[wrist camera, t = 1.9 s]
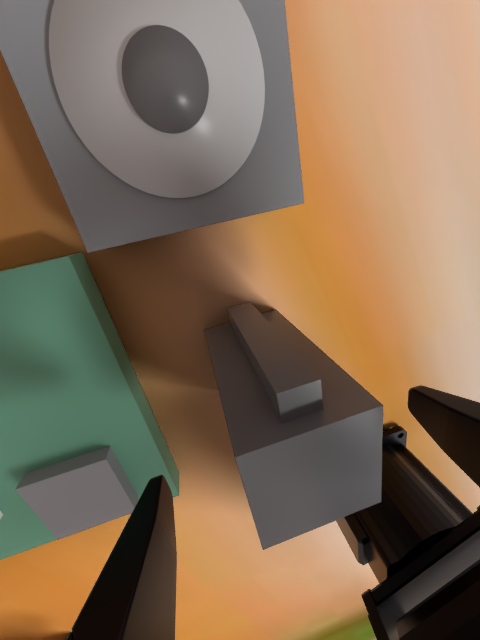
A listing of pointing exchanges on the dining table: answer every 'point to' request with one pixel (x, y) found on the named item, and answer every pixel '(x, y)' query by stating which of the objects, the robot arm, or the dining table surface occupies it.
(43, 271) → the board
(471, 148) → the dining table surface
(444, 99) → the dining table surface
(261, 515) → the plug
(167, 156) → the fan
